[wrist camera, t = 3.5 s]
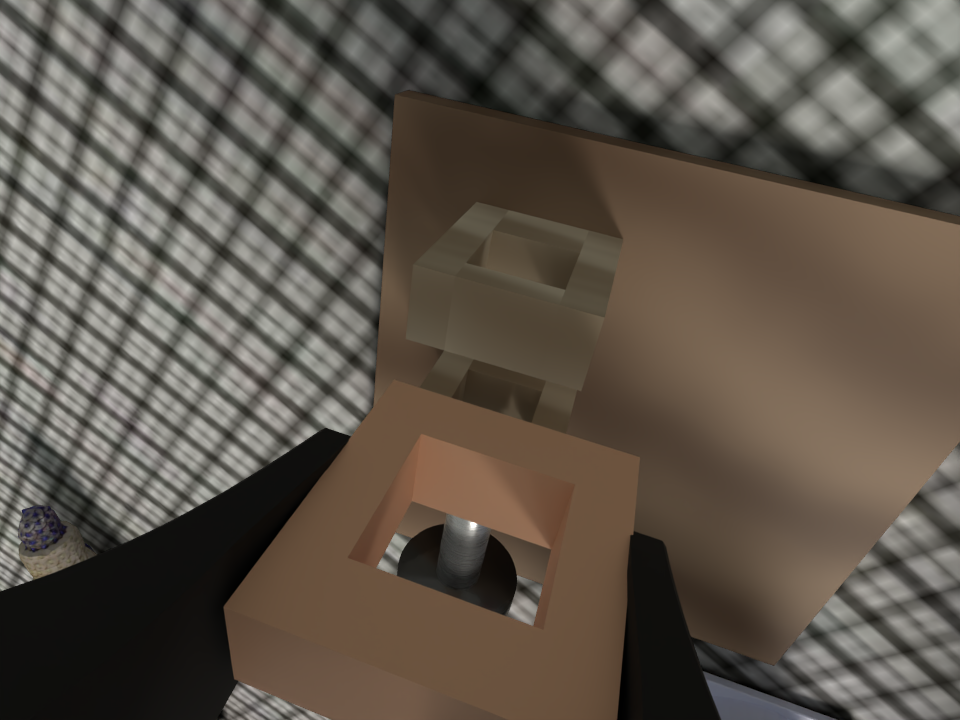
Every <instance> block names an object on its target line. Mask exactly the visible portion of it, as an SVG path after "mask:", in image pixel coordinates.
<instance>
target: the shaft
mask: <svg viewBox="0 0 960 720" xmlns="http://www.w3.org/2000/svg"><path fill="white" fill-rule="evenodd" d="M490 532H491V528H488V527H485V526H482V525H479V524H476V523H473V522H471V521H468V520H465V519H462V518H459V517H456V516H453V515H450V514H448V513H447V514H446V519H445V524H439V525H435V526H432V527H429V528H427V529H425V530H423V531H421V532H420V533H418V534H417V535H415V536H414V537H413V538H412V539H411V540H410V541H409V542H408V544H407V545H406V546H405V548H404V550H403V551H402V554H401V556H400V559H399V563H398V571H397V576H398V577H401V578H404V579H406V580H409V581H412V582H415V583H417V584H420V585H423V586H425V587H428V588H431V589H434V590H436V591H439V592H442V593H444V594H447V595H450V596H453V597H455V598H458V599H461V600H463V601H466V602H469V603H472V604H474V605H477V606H480V607H482V608H485V609H488V610H490V611H493V612H496V613H499V614H501V615H504V616H507V615H508V612H509V610H510V607H511V604H512V600H513V597H514V594H515V591H516V586H517V574H516V568H515V565H514V562H513V560H512V557H511V556H510V554H509V552H508V551H507V549H506V548H505V547H504V546H503V545H502V544H501V542H500V541H498V540H497V539H496V538H495V537H494V536H492V535H491V534H490Z"/></svg>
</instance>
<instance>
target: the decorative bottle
mask: <svg viewBox="0 0 960 720" xmlns="http://www.w3.org/2000/svg"><path fill="white" fill-rule="evenodd" d="M22 513H23V515H22V518H21V521H20V524H19V529H18V537H19V538H20V540H21V541H22V542H21V544H20V545H19V556H20V559H21V560H22V562H23V563H24V565H25V567H26V568H27V570H28V571H29V573H30V574H31V575H32V576H33V580H35V579H38V578H40V577H43V576H46V575H49V574H52V573H54V572H57V571H59V570H62V569H64V568H67V567H69V566H72V565H74V564H77V563H79V562H82V561H84V560H87V559H89V558H91V557H94V556H96V555H97V554H96V553H95V552H94V551H93V550H92V548H91V547H90V546H89V545H87V544H85V543H84V540H83V538H82V536H81V534H80V532H79V530H78V528H77V527H76V526H74V525H72V524H70V523H68V522H66V521H60V519H59V517H58V516H57V514H56V513H55V511H54V510H52V509H51V508H50V507H49V506H43V505H36V506H33V507H30V508H27V509H23V510H22ZM217 720H218V719H217Z"/></svg>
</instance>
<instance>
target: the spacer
mask: <svg viewBox="0 0 960 720" xmlns="http://www.w3.org/2000/svg"><path fill="white" fill-rule="evenodd" d="M639 463H640V457H637V456H634V455H631V454H628V453H625V452H622V451H618V450H615V449H612V448H609V447H606V446H603V445H599V444H596V443H593V442H590V441H587V440H584V439H580V438H577V437H574V436H571V435H568V434H565V433H561V432H558V431H555V430H552V429H549V428H546V427H542V426H539V425H536V424H533V423H530V422H527V421H523V420H520V419H517V418H514V417H511V416H508V415H504V414H501V413H498V412H495V411H492V410H489V409H485V408H482V407H479V406H476V405H473V404H470V403H466V402H463V401H460V400H457V399H454V398H451V397H447V396H444V395H441V394H438V393H435V392H432V391H428V390H425V389H422V388H419V387H416V386H413V385H409V384H406V383H403V382H400V381H397V380H393V382H392V383H391V384H390V386H389V387H388V388H387V390H386V391H385V392H384V394H383V395H382V396H381V398H380V399H379V400H378V402H377V403H376V404H375V406H374V407H373V408H372V410H371V411H370V412H369V414H368V415H367V416H366V418H365V419H364V420H363V422H362V423H361V424H360V426H359V427H358V428H357V430H356V431H355V432H354V434H353V435H352V436H351V438H350V439H349V441H348V443H347V444H346V445H345V447H344V448H343V449H342V451H341V452H340V453H339V455H338V456H337V457H336V459H335V460H334V461H333V463H332V464H331V465H330V467H329V468H328V469H327V470H326V471H325V472H324V474H323V475H322V476H321V478H320V479H319V480H318V482H317V483H316V484H315V486H314V487H313V488H312V490H311V491H310V492H309V494H308V495H307V496H306V498H305V499H304V500H303V502H302V503H301V504H300V506H299V507H298V508H297V509H296V511H295V512H294V513H293V515H292V516H291V517H290V519H289V520H288V521H287V523H286V524H285V525H284V527H283V528H282V529H281V531H280V532H279V533H278V535H277V536H276V537H275V539H274V540H273V541H272V543H271V544H270V545H269V547H268V548H267V549H266V551H265V552H264V553H263V555H262V556H261V557H260V559H259V560H258V561H257V563H256V564H255V565H254V567H253V568H252V569H251V571H250V572H249V573H248V575H247V576H246V577H245V579H244V580H243V581H242V583H241V584H240V585H239V587H238V588H237V589H236V591H235V592H234V593H233V595H232V596H231V597H230V599H229V600H228V601H227V603H226V604H225V605H224V607H223V608H224V614H225V621H226V628H227V635H228V641H229V648H230V655H231V662H232V668H233V675H234V679H235V680H238V681H240V682H242V683H245V684H247V685H250V686H252V687H254V688H257V689H259V690H262V691H264V692H266V693H269V694H271V695H274V696H276V697H278V698H281V699H283V700H286V701H288V702H291V703H293V704H295V705H298V706H300V707H303V708H305V709H307V710H310V711H312V712H315V713H317V714H319V715H322V716H324V717H327V718H329V719H331V720H617V715H618V703H619V692H620V680H621V669H622V658H623V646H624V635H625V623H626V612H627V567H628V556H629V545H630V535H633V532H634V520H635V509H636V497H637V486H638V475H639ZM412 501H413V502H416V503H419V504H422V505H425V506H427V507H430V508H433V509H436V510H439V511H442V512H445V513H448V514H450V515H453V516H456V517H459V518H462V519H465V520H468V521H471V522H473V523H476V524H479V525H482V526H485V527H488V528H491V529H494V530H497V531H499V532H502V533H505V534H508V535H511V536H514V537H517V538H520V539H522V540H525V541H528V542H531V543H534V544H537V545H540V546H543V547H545V548H548V549H551V553H550V558H549V562H548V566H547V570H546V575H545V579H544V583H543V587H542V592H541V596H540V600H539V605H538V609H537V613H536V617H535V622H534V626H531V625H528V624H526V623H523V622H520V621H518V620H515V619H512V618H509V617H507V616H504V615H501V614H499V613H496V612H493V611H490V610H488V609H485V608H482V607H480V606H477V605H474V604H472V603H469V602H466V601H463V600H461V599H458V598H455V597H453V596H450V595H447V594H444V593H442V592H439V591H436V590H434V589H431V588H428V587H425V586H423V585H420V584H417V583H415V582H412V581H409V580H406V579H404V578H401V577H398V576H396V575H393V574H390V573H387V572H385V571H382V570H379V569H377V568H376V567H377V565H378V564H379V562H380V560H381V558H382V556H383V554H384V552H385V550H386V549H387V547H388V545H389V543H390V541H391V539H392V537H393V535H394V534H395V532H396V530H397V528H398V526H399V524H400V522H401V520H402V519H403V517H404V515H405V513H406V511H407V509H408V507H409V505H410V504H411V502H412Z"/></svg>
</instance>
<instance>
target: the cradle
mask: <svg viewBox="0 0 960 720" xmlns="http://www.w3.org/2000/svg"><path fill="white" fill-rule="evenodd" d="M393 380H397V381H400V382H403V383H406V384H409V385H413V386H416V387H419V388H422V389H425V390H428V391H432V392H435V393H438V394H441V395H444V396H447V397H451V398H454V399H457V400H460V401H463V402H466V403H470V404H473V405H476V406H479V407H482V408H485V409H489V410H492V411H495V412H498V413H501V414H504V415H508V416H511V417H514V418H517V419H520V420H523V421H527V422H530V423H533V424H536V425H539V426H542V427H546V428H549V429H552V430H555V431H558V432H561V433H565V434H568V435H571V436H574V437H577V438H580V439H584V440H587V441H590V442H593V443H596V444H599V445H603V446H606V447H609V448H612V449H615V450H618V451H622V452H625V453H628V454H631V455H634V456H637V457H640V463H639V475H638V486H637V497H636V509H635V520H634V531H635V532H638V533H641V534H644V535H647V536H650V537H653V538H656V539H659V540H662V541H663V542H664V544H665V546H666V548H667V553H668V557H669V562H670V566H671V570H672V574H673V578H674V582H675V585H676V589H677V593H678V596H679V600H680V603H681V606H682V610H683V613H684V617H685V620H686V623H687V626H688V629H689V632H690V635H691V637H694V638H697V639H699V640H702V641H705V642H708V643H711V644H713V645H716V646H719V647H722V648H725V649H728V650H730V651H733V652H736V653H739V654H742V655H745V656H747V657H750V658H753V659H756V660H759V661H762V662H764V663H767V664H770V665H773V666H774V665H775V664H776V663H777V662H778V660H779V659H780V658H781V657H782V656H783V654H784V653H785V652H786V651H787V650H788V648H789V647H790V646H791V645H792V644H793V642H794V641H795V640H796V639H797V638H798V636H799V635H800V634H801V633H802V631H803V630H804V629H805V628H806V627H807V625H808V624H809V623H810V622H811V621H812V619H813V618H814V617H815V616H816V615H817V613H818V612H819V611H820V610H821V609H822V607H823V606H824V605H825V604H826V603H827V601H828V600H829V599H830V598H831V596H832V595H833V594H834V593H835V592H836V590H837V589H838V588H839V587H840V586H841V584H842V583H843V582H844V581H845V580H846V578H847V577H848V576H849V575H850V574H851V572H852V571H853V570H854V569H855V567H856V566H857V565H858V564H859V563H860V561H861V560H862V559H863V558H864V557H865V555H866V554H867V553H868V552H869V551H870V549H871V548H872V547H873V546H874V545H875V543H876V542H877V541H878V540H879V539H880V537H881V536H882V535H883V534H884V532H885V531H886V530H887V529H888V528H889V526H890V525H891V524H892V523H893V522H894V520H895V519H896V518H897V517H898V516H899V514H900V513H901V512H902V511H903V510H904V508H905V507H906V506H907V505H908V504H909V502H910V501H911V500H912V499H913V497H914V496H915V495H916V494H917V493H918V491H919V490H920V489H921V488H922V487H923V485H924V484H925V483H926V482H927V481H928V479H929V478H930V477H931V476H932V475H933V473H934V472H935V471H936V470H937V468H938V467H939V466H940V465H941V464H942V462H943V461H944V460H945V459H946V458H947V456H948V455H949V454H950V453H951V452H952V450H953V449H954V448H955V447H956V446H957V444H958V443H959V442H960V216H956V215H952V214H948V213H943V212H939V211H934V210H930V209H926V208H921V207H917V206H913V205H908V204H904V203H899V202H895V201H891V200H886V199H882V198H878V197H873V196H869V195H865V194H860V193H856V192H851V191H847V190H843V189H838V188H834V187H830V186H825V185H821V184H816V183H812V182H808V181H803V180H799V179H795V178H790V177H786V176H781V175H777V174H773V173H768V172H764V171H760V170H755V169H751V168H747V167H742V166H738V165H733V164H729V163H725V162H720V161H716V160H712V159H707V158H703V157H698V156H694V155H690V154H685V153H681V152H677V151H672V150H668V149H663V148H659V147H655V146H650V145H646V144H642V143H637V142H633V141H628V140H624V139H620V138H615V137H611V136H607V135H602V134H598V133H594V132H589V131H585V130H580V129H576V128H572V127H567V126H563V125H559V124H554V123H550V122H545V121H541V120H537V119H532V118H528V117H524V116H519V115H515V114H510V113H506V112H502V111H497V110H493V109H489V108H484V107H480V106H476V105H471V104H467V103H462V102H458V101H454V100H449V99H445V98H441V97H436V96H432V95H427V94H423V93H419V92H414V91H410V90H407V91H404V92H401V93H398V94H395V100H394V114H393V129H392V143H391V158H390V172H389V187H388V202H387V216H386V231H385V245H384V260H383V274H382V289H381V304H380V318H379V333H378V347H377V362H376V376H375V391H374V405H373V407H374V406H375V404H376V403H377V402H378V400H379V399H380V398H381V396H382V395H383V394H384V392H385V391H386V390H387V388H388V387H389V386H390V384H391V383H392V382H393ZM446 514H447V513H445V512H442V511H439V510H436V509H433V508H430V507H427V506H425V505H422V504H419V503H416V502H413V501H412V502H411V504H410V505H409V507H408V509H407V511H406V513H405V515H404V517H403V519H402V520H401V522H400V524H399V526H398V528H397V530H396V532H397V533H400V534H402V535H405V536H408V537H411V538H413V537H414V536H415V535H417V534H418V533H420V532H421V531H423V530H425V529H427V528H429V527H432V526H435V525H439V524H445V519H446ZM490 534H491V535H492V536H494V537H495V538H496V539H497V540H498V541H500V542H501V544H502V545H503V546H504V547H505V548H506V549H507V551H508V552H509V554H510V556H511V557H512V560H513V562H514V565H515V568H516V574H517V575H518V576H521V577H524V578H527V579H530V580H533V581H535V582H538V583H541V584H543V583H544V579H545V575H546V570H547V566H548V562H549V558H550V553H551V549H548V548H545V547H543V546H540V545H537V544H534V543H531V542H528V541H525V540H522V539H520V538H517V537H514V536H511V535H508V534H505V533H502V532H499V531H497V530H494V529H491V532H490Z"/></svg>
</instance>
